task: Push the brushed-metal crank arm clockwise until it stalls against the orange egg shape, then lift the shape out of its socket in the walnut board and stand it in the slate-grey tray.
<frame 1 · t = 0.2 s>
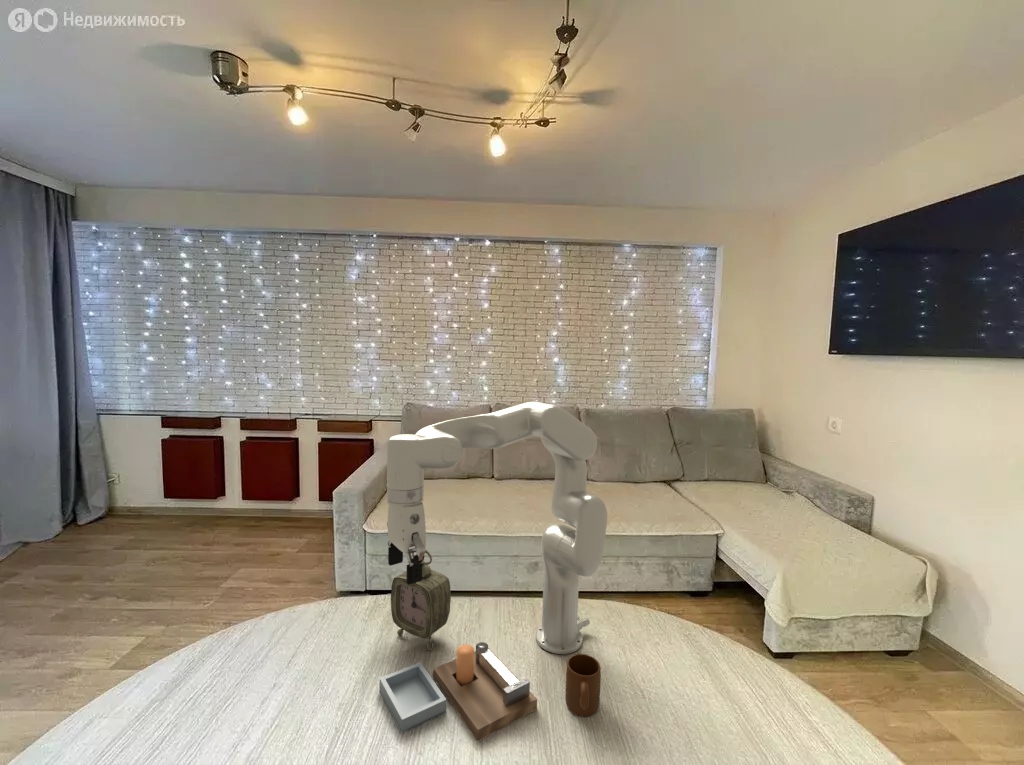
hand: (404, 572, 97), 31 cm above the table, tool pointing down, fingers open, 9 cm apart
crank board: (482, 693, 104), on the table
tabletop clock: (421, 637, 124), on the table
orange egg shape: (464, 686, 106), resting in crank board
mug: (582, 713, 100), on the table
parts tray: (411, 701, 102), on the table
crank arm: (497, 669, 106), point 5 cm above the table, hinge at 0.0°
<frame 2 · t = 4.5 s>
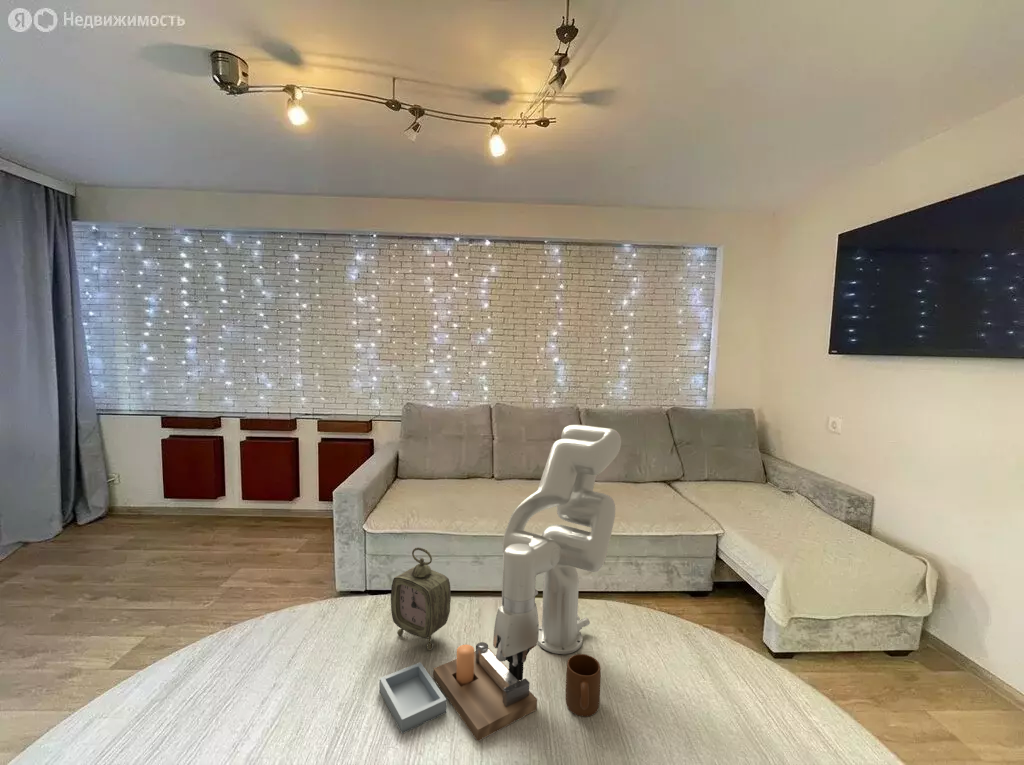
hand: (515, 677, 105), 3 cm above the table, tool pointing down, fingers closed
crank arm: (497, 670, 106), point 5 cm above the table, hinge at -0.4°, touching gripper
everything else where it was.
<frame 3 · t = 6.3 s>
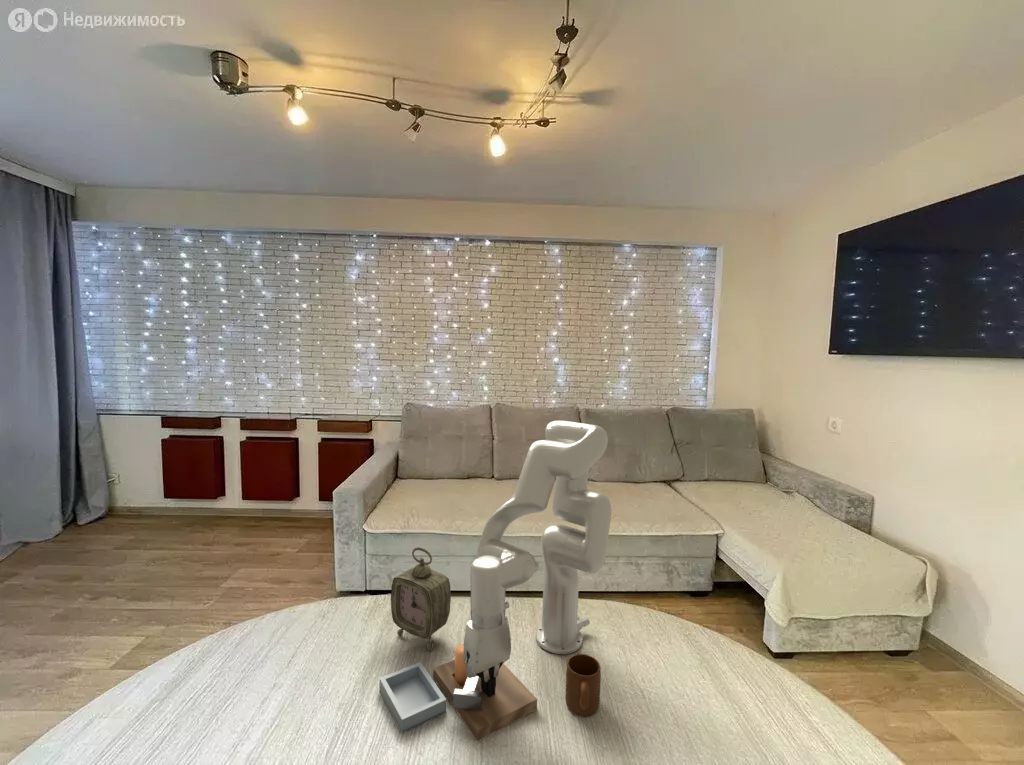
hand: (488, 692, 101), 3 cm above the table, tool pointing down, fingers closed
orange egg shape: (463, 686, 106), resting in crank board, touching crank arm
crank arm: (475, 672, 104), point 5 cm above the table, hinge at -42.4°, touching gripper, orange egg shape
everything else where it was.
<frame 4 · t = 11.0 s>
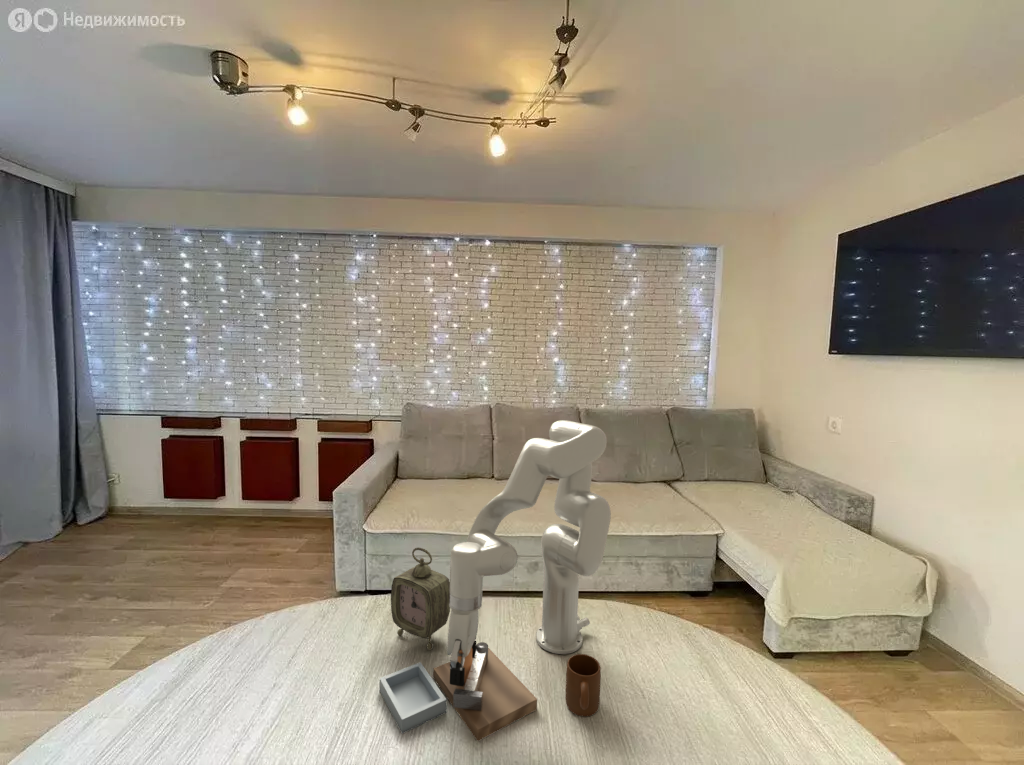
hand: (463, 669, 106), 4 cm above the table, tool pointing down, fingers open, 9 cm apart
crank arm: (475, 672, 104), point 5 cm above the table, hinge at -42.2°, touching orange egg shape
everything else where it was.
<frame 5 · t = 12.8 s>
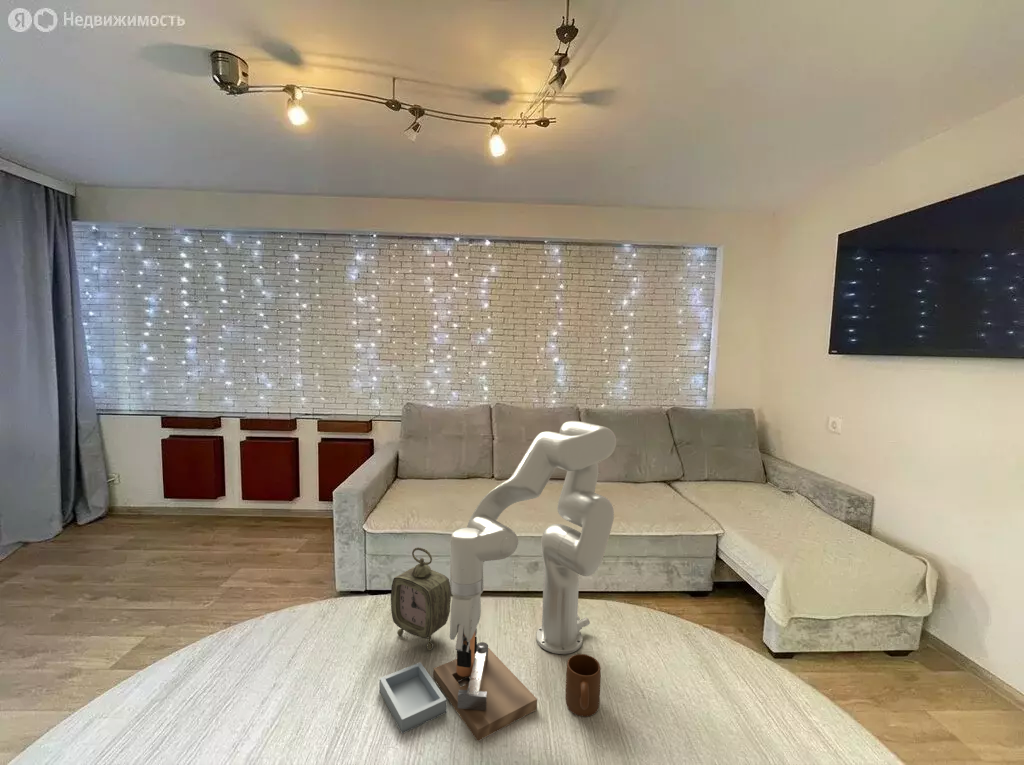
hand: (467, 658, 106), 7 cm above the table, tool pointing down, fingers closed on orange egg shape, 4 cm apart
orange egg shape: (464, 670, 107), point 4 cm above the table, touching gripper
crank arm: (477, 673, 104), point 5 cm above the table, hinge at -38.6°
everything else where it was.
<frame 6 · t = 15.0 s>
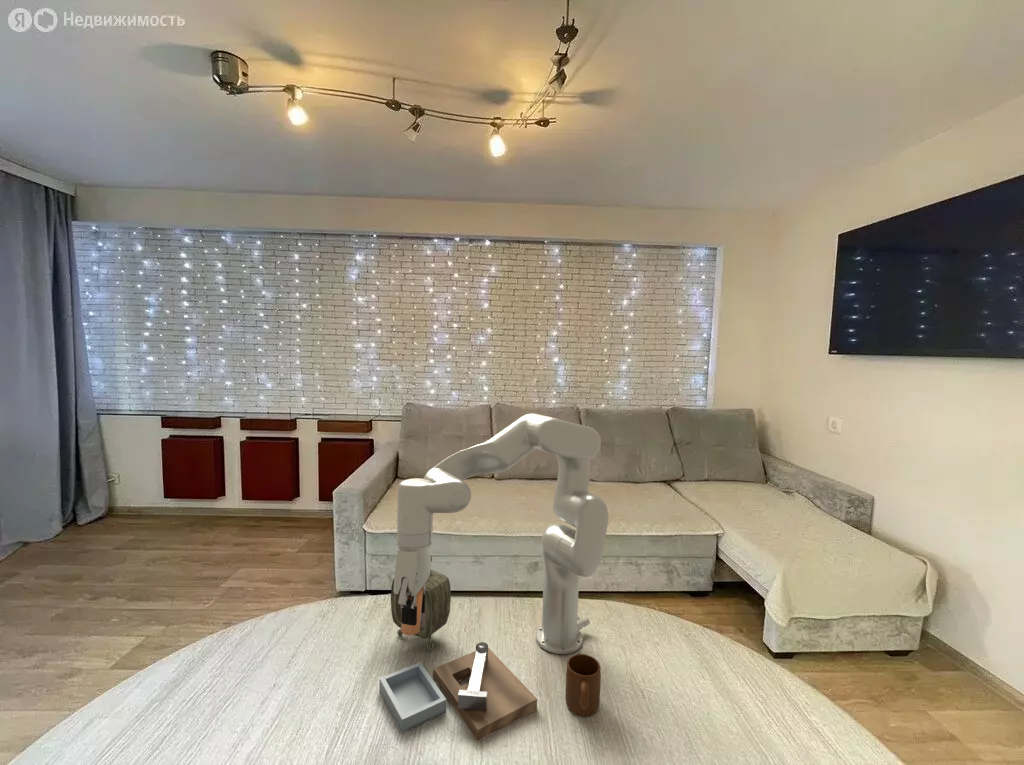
hand: (413, 616, 100), 20 cm above the table, tool pointing down, fingers closed on orange egg shape, 4 cm apart
orange egg shape: (410, 629, 101), point 16 cm above the table, touching gripper
everything else where it was.
when the fingers open (4 cm above the table, at t = 18.2 s): orange egg shape stays where it is, resting on parts tray.
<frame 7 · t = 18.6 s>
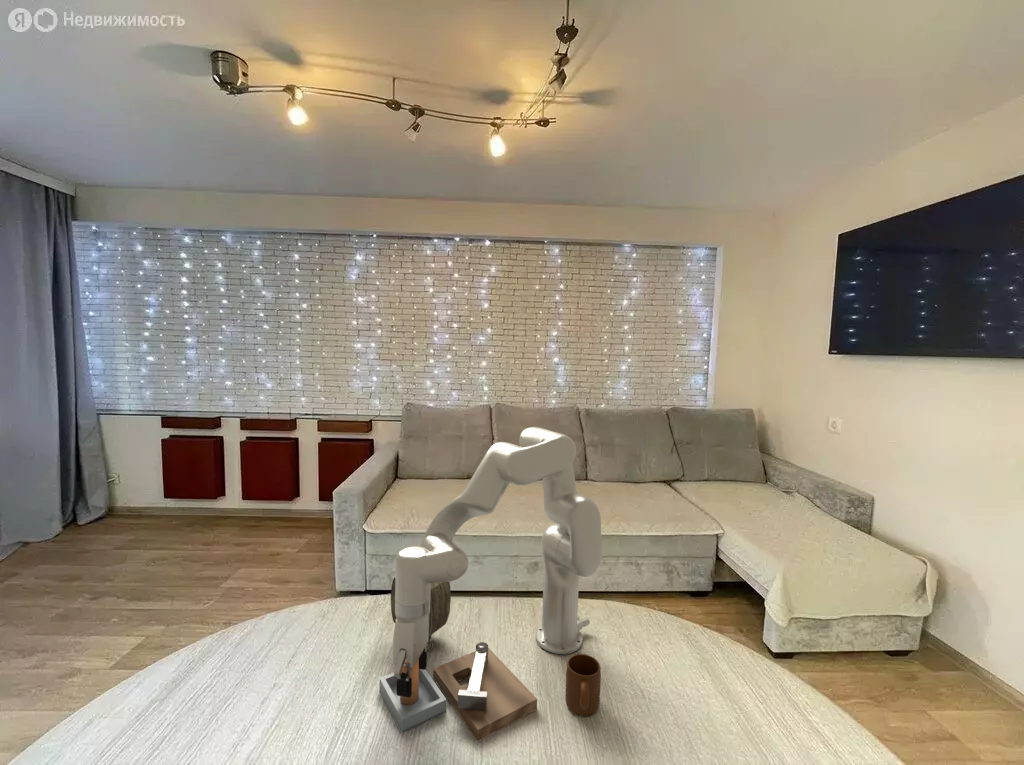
hand: (412, 680, 101), 5 cm above the table, tool pointing down, fingers open, 8 cm apart
orange egg shape: (409, 698, 102), point 1 cm above the table, touching parts tray
everything else where it was.
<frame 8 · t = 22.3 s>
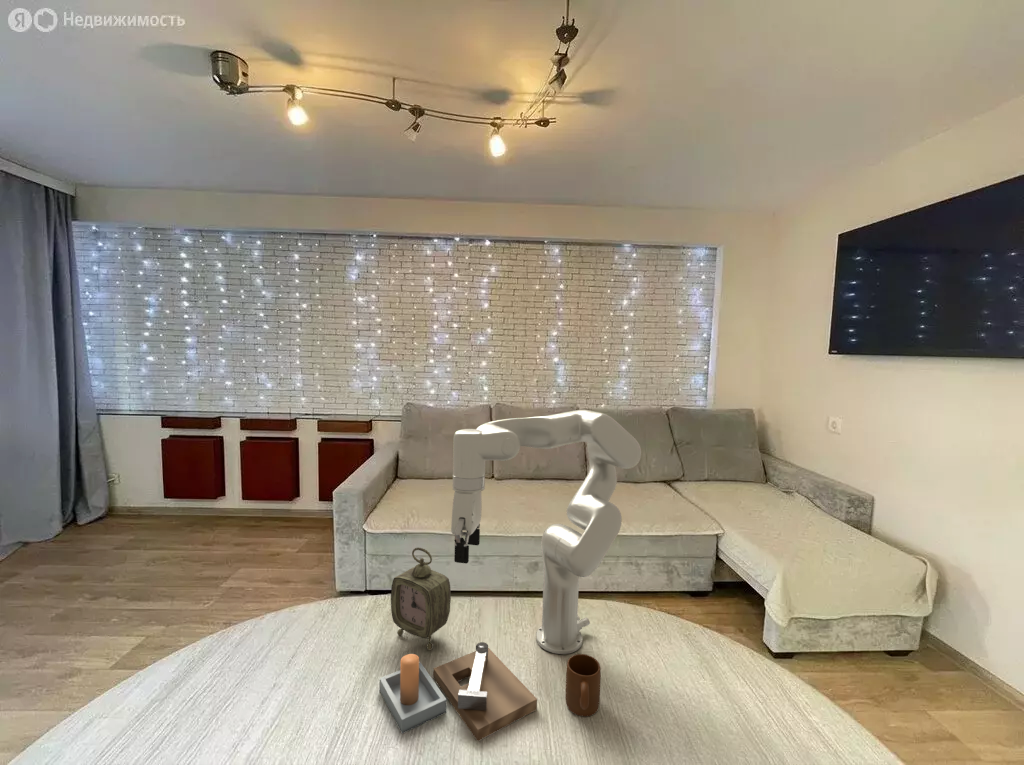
hand: (467, 553, 108), 30 cm above the table, tool pointing down, fingers open, 9 cm apart
nothing on the table moved.
at the end: crank arm at -38° (first picture: +0°); orange egg shape inside the target area on the parts tray (0.6 cm from its centre), point 0.5 cm above the parts tray's base; orange egg shape tilted 0° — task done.
